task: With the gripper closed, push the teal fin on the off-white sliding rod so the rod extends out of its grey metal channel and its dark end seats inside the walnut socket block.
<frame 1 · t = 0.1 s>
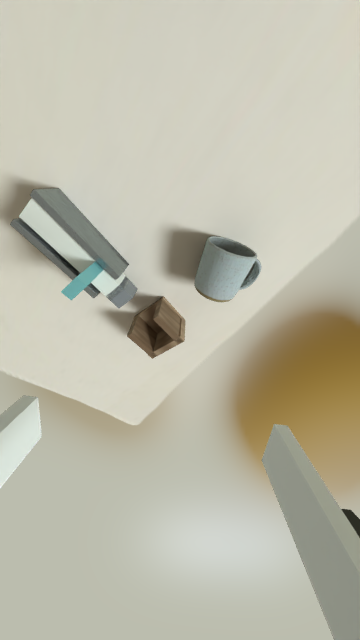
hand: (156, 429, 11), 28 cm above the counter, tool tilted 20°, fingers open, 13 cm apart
ceramic mug: (227, 262, 33), on the counter
socket: (160, 318, 41), on the counter
channel: (85, 242, 32), on the counter
rod: (78, 264, 28), point 6 cm above the counter, slide at 0.0 cm
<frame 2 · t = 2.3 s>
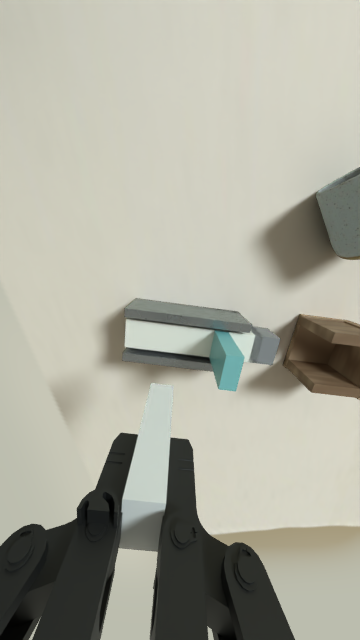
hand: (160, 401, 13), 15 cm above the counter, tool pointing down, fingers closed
ceramic mug: (350, 208, 23), on the counter
socket: (314, 343, 28), on the counter
channel: (184, 327, 27), on the counter
rod: (203, 347, 22), point 6 cm above the counter, slide at 0.0 cm
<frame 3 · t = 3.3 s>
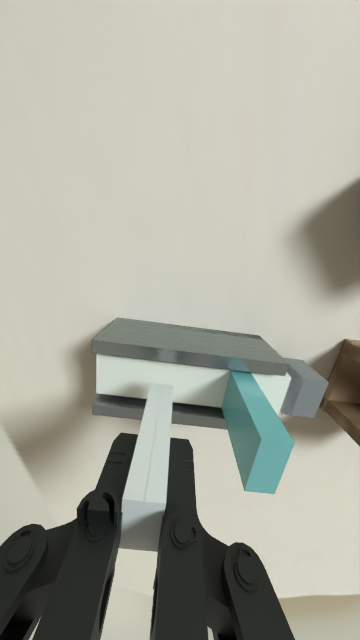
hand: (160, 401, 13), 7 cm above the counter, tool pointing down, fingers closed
channel: (184, 356, 20), on the counter
rod: (213, 398, 14), point 6 cm above the counter, slide at 0.0 cm
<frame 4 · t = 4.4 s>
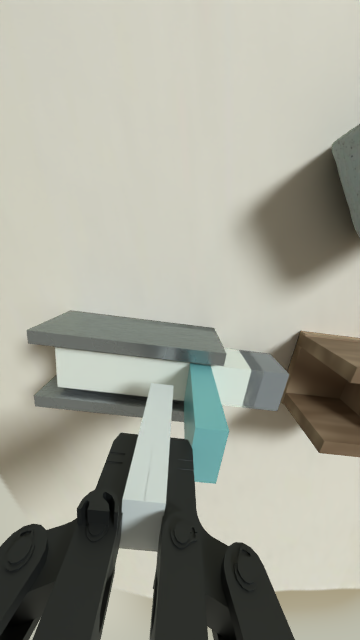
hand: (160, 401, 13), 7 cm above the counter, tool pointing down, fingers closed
socket: (321, 370, 20), on the counter
channel: (140, 349, 20), on the counter
rod: (170, 391, 14), point 6 cm above the counter, slide at 1.4 cm, touching gripper
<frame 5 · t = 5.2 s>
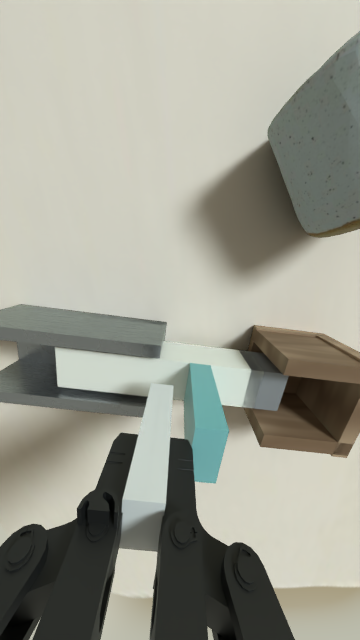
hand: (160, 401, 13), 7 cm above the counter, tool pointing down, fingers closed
ceramic mug: (327, 162, 15), on the counter
socket: (277, 365, 20), on the counter
channel: (94, 343, 20), on the counter
rod: (170, 390, 14), point 6 cm above the counter, slide at 6.1 cm, touching gripper
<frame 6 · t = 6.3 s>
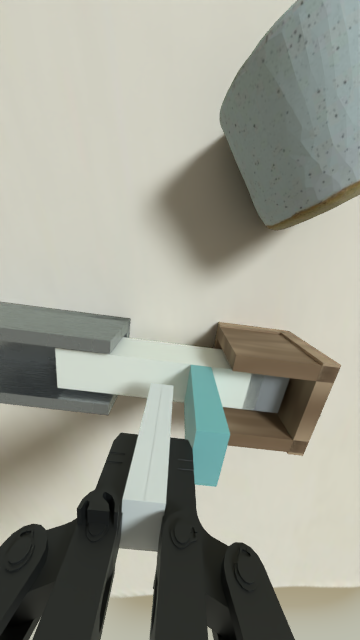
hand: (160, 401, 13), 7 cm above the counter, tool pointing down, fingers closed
ceramic mug: (288, 155, 15), on the counter
socket: (244, 362, 20), on the counter
channel: (58, 339, 19), on the counter
rod: (171, 392, 14), point 6 cm above the counter, slide at 9.7 cm, touching gripper
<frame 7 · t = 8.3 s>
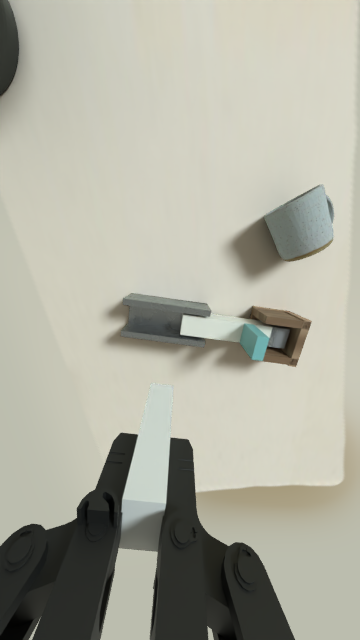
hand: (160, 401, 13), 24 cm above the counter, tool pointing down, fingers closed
ceramic mug: (292, 225, 32), on the counter
socket: (265, 328, 37), on the counter
channel: (167, 315, 37), on the counter
rod: (236, 334, 31), point 6 cm above the counter, slide at 9.7 cm
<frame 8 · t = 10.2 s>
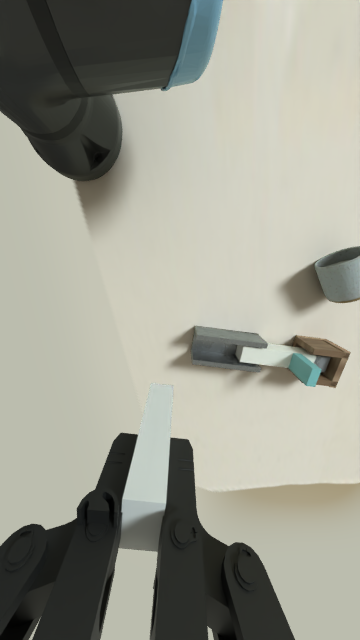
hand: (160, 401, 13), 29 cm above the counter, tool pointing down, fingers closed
ceramic mug: (334, 270, 39), on the counter
socket: (305, 353, 44), on the counter
channel: (223, 343, 44), on the counter
rod: (288, 362, 38), point 6 cm above the counter, slide at 9.7 cm
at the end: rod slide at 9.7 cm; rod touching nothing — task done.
